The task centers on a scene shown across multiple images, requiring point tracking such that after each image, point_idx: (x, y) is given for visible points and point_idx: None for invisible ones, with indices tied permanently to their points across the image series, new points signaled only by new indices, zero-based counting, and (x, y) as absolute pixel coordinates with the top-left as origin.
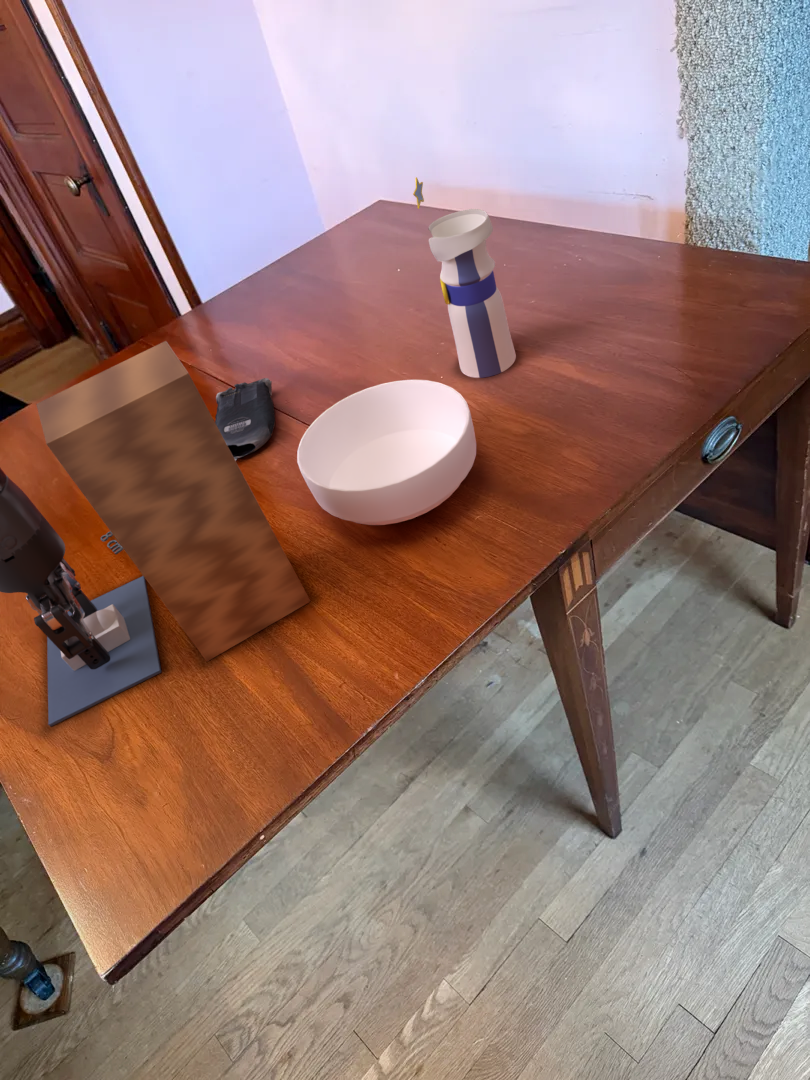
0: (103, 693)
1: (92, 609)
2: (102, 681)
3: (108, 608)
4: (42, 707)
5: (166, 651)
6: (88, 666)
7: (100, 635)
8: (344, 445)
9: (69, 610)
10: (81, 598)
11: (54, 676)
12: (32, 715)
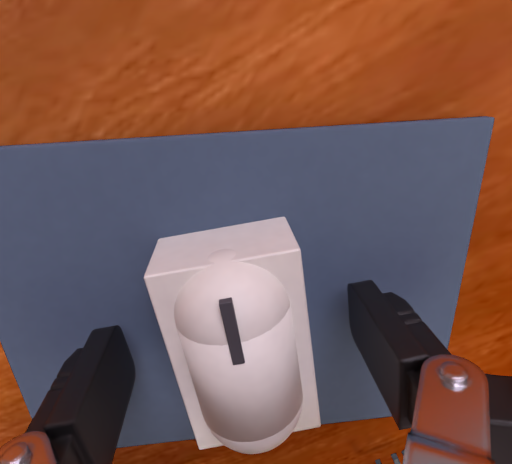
0: (12, 332)
1: (361, 349)
2: (66, 326)
3: (308, 416)
4: (46, 110)
5: (121, 452)
6: (87, 339)
7: (185, 403)
8: None
9: (379, 326)
10: (389, 397)
11: (169, 165)
12: (17, 67)
